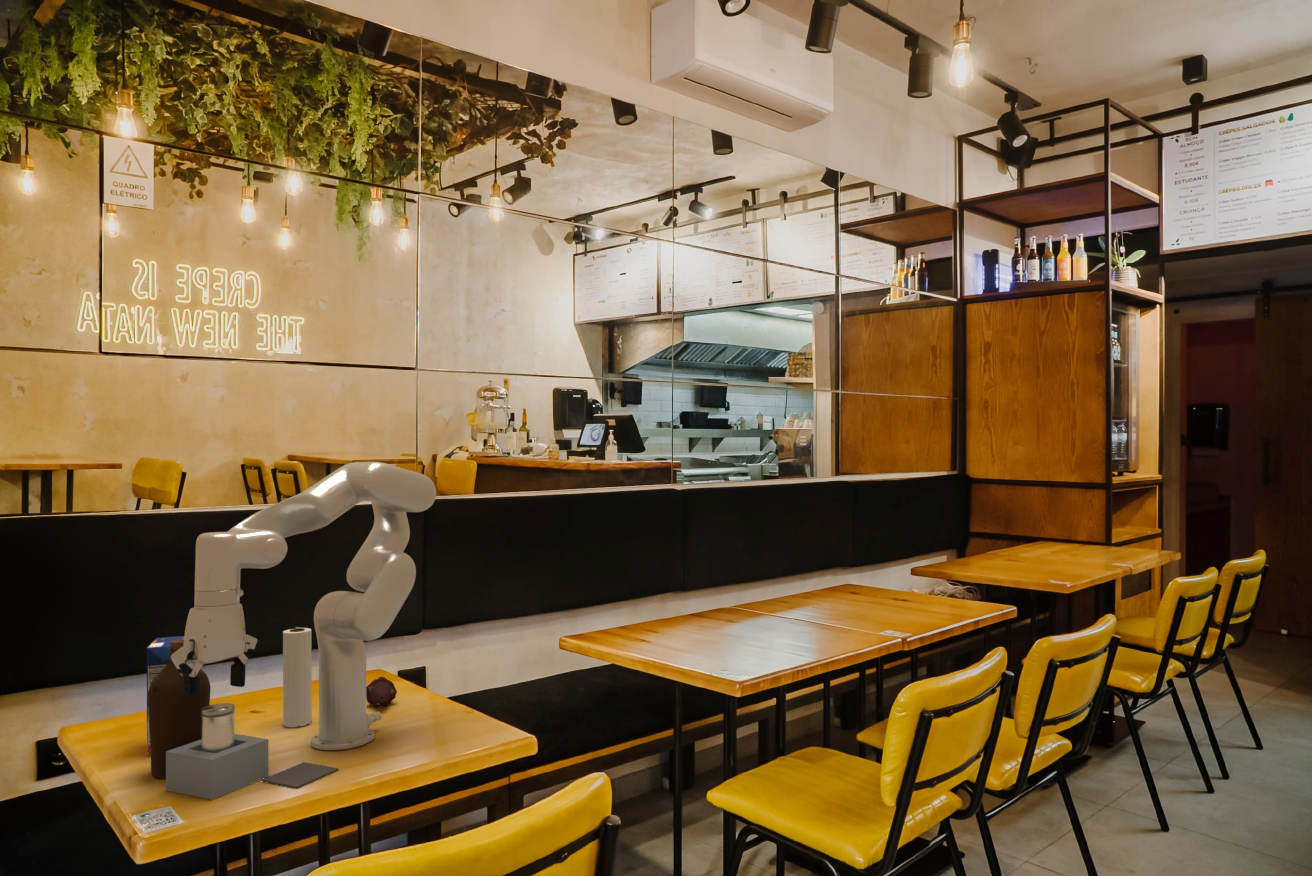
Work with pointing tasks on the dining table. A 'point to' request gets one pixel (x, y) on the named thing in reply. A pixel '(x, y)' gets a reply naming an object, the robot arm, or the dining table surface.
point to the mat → (300, 775)
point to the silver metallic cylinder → (217, 727)
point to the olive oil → (173, 712)
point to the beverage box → (156, 668)
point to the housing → (216, 767)
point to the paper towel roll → (297, 677)
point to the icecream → (380, 692)
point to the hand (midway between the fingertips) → (215, 691)
